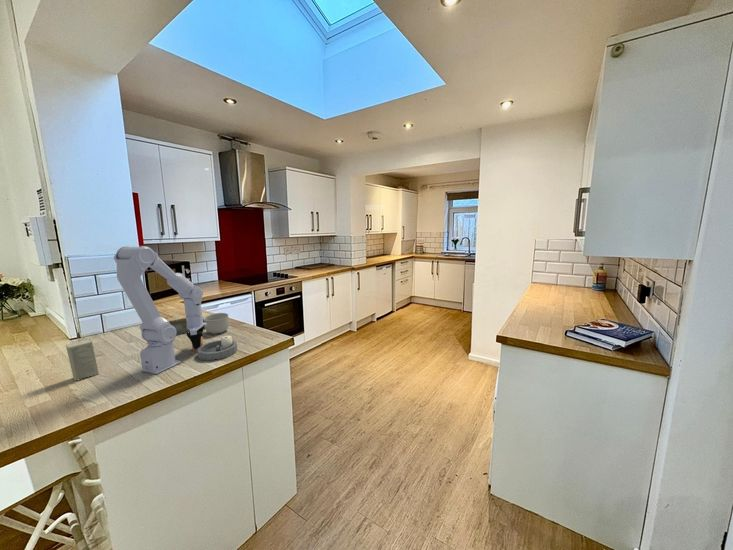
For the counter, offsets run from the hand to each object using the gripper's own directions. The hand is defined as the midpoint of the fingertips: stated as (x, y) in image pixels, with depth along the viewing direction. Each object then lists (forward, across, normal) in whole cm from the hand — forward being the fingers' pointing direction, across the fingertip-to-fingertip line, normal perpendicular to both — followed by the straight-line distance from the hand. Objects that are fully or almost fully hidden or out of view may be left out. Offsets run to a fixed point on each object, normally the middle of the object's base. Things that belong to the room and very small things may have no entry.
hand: (198, 346), depth 121 cm
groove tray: (+1, -8, -8) cm, 11 cm away
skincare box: (+2, -8, +33) cm, 34 cm away
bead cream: (+1, -8, -11) cm, 14 cm away
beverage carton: (+2, +28, +10) cm, 30 cm away
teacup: (+2, +20, -5) cm, 21 cm away
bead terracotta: (+2, 0, 0) cm, 2 cm away
